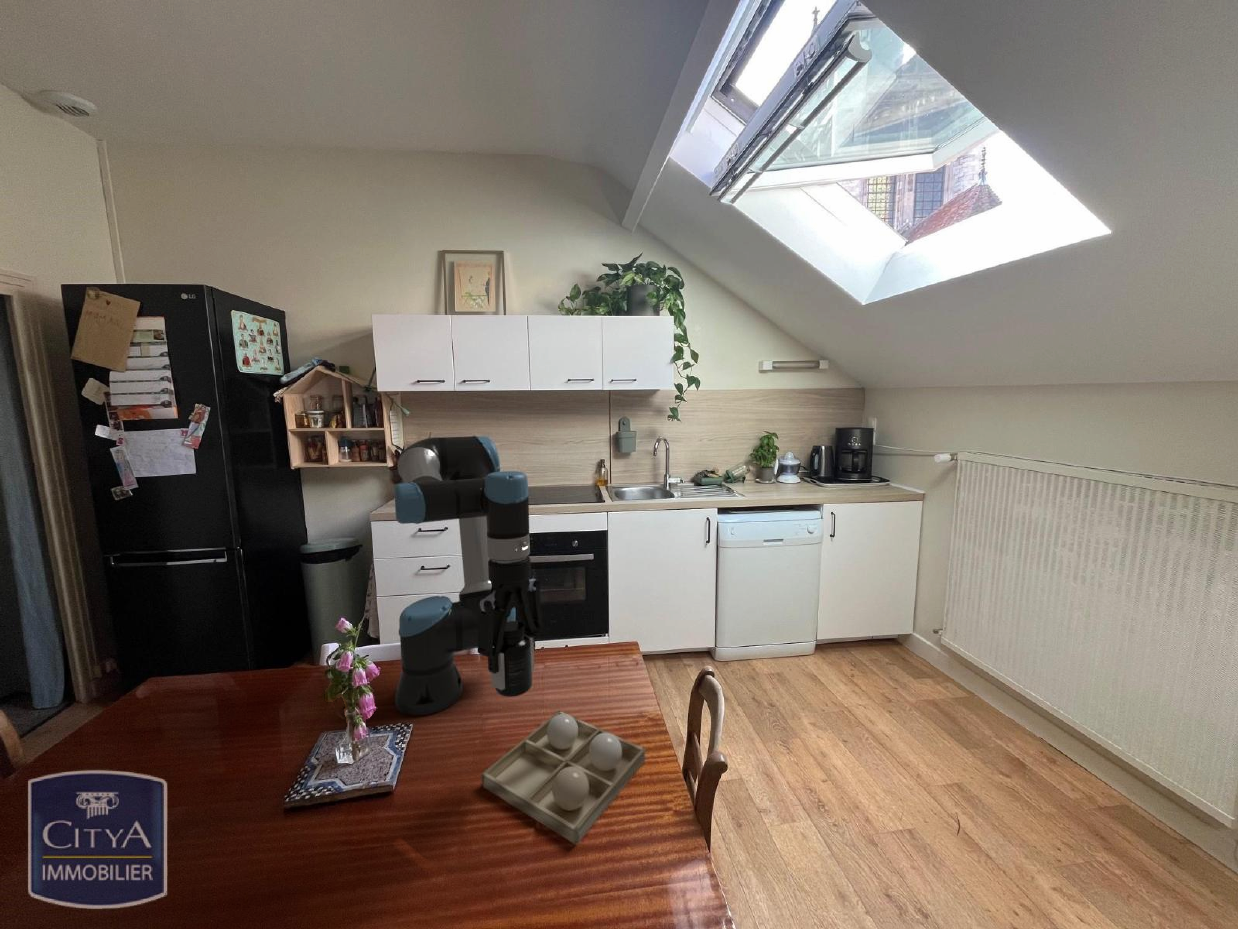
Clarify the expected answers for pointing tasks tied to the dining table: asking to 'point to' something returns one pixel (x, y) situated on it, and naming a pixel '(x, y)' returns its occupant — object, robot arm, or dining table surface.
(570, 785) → the egg
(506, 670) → the supplement bottle
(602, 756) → the egg
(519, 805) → the crate
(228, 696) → the dining table surface
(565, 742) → the egg
